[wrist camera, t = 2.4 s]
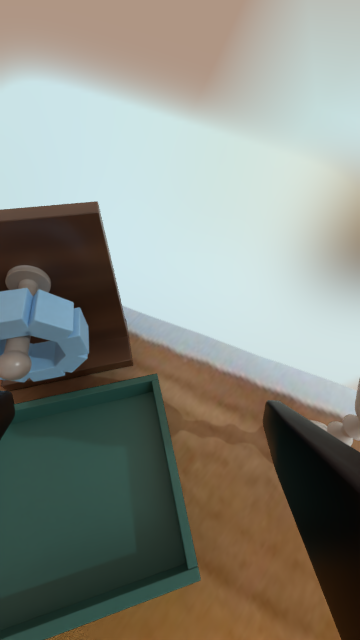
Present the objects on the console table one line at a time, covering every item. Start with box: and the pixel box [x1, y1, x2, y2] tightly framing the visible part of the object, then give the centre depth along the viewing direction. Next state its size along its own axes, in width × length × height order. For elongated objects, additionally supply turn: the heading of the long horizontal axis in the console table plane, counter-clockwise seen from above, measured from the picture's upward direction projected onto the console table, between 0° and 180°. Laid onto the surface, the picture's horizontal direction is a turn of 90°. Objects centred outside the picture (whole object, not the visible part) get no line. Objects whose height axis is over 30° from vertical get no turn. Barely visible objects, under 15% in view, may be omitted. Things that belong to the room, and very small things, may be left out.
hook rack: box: [0, 202, 133, 391], centre depth 19 cm, size 11×12×15 cm
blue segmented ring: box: [0, 288, 89, 382], centre depth 16 cm, size 2×7×7 cm, turn 104°
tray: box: [0, 374, 201, 640], centre depth 18 cm, size 13×16×3 cm
